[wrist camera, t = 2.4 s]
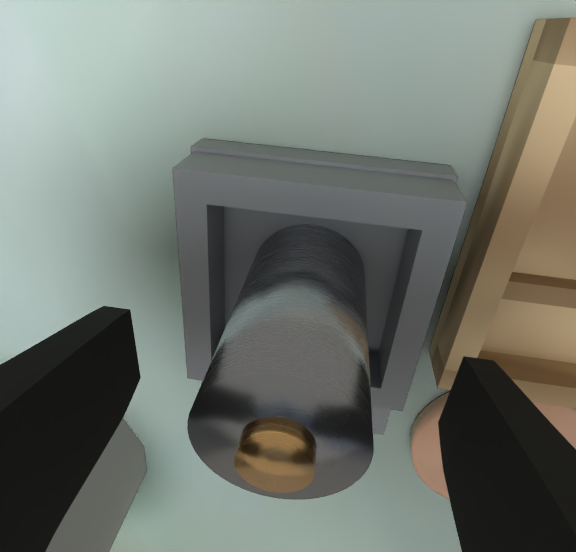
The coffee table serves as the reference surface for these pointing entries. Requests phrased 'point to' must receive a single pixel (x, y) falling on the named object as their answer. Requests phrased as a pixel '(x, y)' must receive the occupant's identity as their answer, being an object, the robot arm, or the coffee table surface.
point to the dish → (427, 440)
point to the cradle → (323, 212)
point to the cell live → (291, 373)
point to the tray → (523, 237)
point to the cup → (103, 497)
